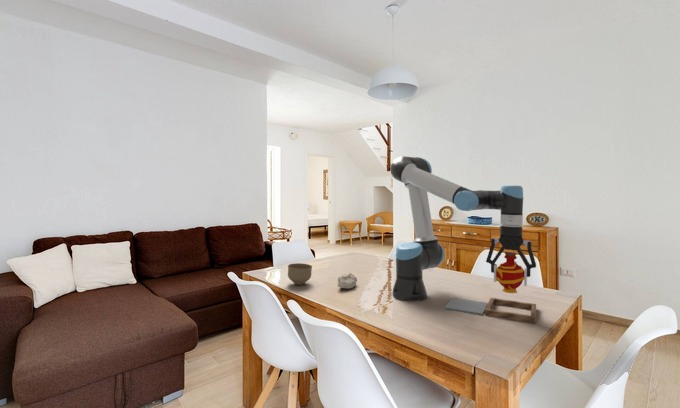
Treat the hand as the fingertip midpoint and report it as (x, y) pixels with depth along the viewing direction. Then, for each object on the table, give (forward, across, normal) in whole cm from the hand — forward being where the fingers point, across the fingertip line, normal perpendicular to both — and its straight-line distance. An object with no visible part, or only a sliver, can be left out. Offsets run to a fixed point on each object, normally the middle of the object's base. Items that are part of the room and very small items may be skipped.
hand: (510, 282), depth 126 cm
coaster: (+12, -15, -2) cm, 19 cm away
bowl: (+13, -96, -9) cm, 98 cm away
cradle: (+11, +1, 0) cm, 11 cm away
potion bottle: (+3, 0, 0) cm, 3 cm away
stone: (+13, -72, -2) cm, 73 cm away
